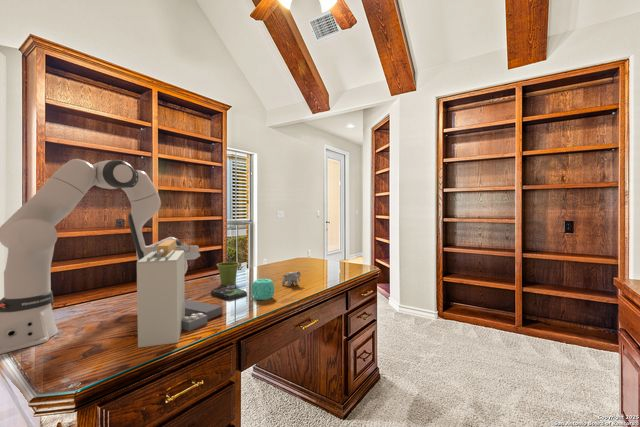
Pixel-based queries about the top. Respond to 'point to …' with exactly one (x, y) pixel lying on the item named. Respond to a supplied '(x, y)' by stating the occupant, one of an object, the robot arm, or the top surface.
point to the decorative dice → (263, 289)
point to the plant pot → (228, 272)
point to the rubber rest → (202, 309)
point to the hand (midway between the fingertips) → (170, 245)
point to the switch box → (194, 321)
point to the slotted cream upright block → (160, 298)
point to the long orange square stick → (166, 247)
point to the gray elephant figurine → (291, 278)
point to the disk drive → (229, 293)
